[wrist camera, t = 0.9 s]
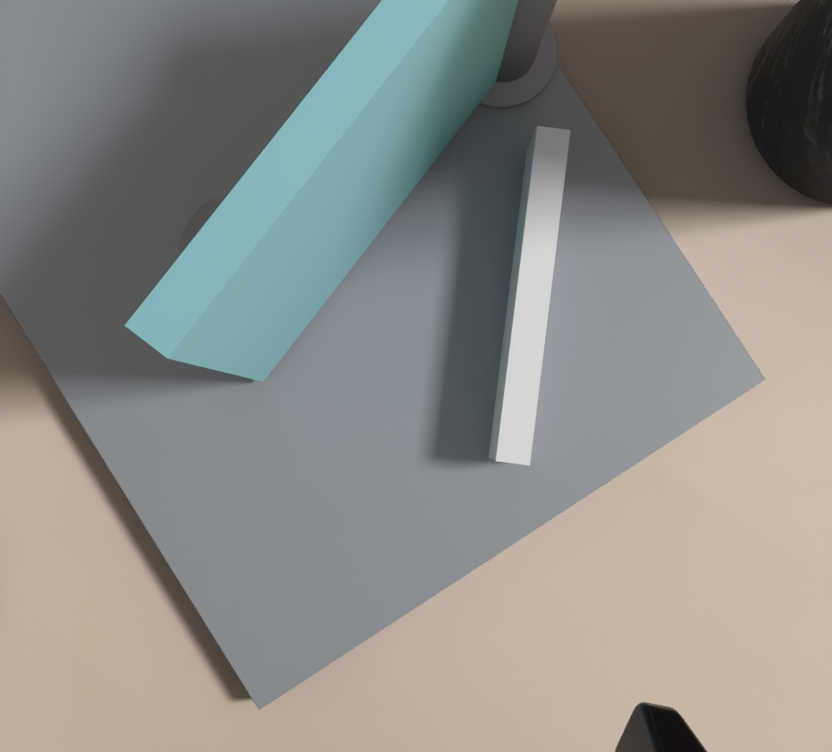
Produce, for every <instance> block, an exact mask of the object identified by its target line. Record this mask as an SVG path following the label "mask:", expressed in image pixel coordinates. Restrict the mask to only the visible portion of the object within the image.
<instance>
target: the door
mask: <svg viewBox="0 0 832 752" xmlns="http://www.w3.org/2000/svg"><path fill="white" fill-rule="evenodd" d="M556 1H557V0H382V1H381V2H380V3H379V5H378V6H377V7H376V8H375V10H374V11H373V12H372V13H371V15H370V16H369V17H368V18H367V20H366V21H365V22H364V23H363V25H362V26H361V27H360V29H359V30H358V31H357V32H356V34H355V35H354V36H353V37H352V39H351V40H350V41H349V42H348V44H347V45H346V46H345V48H344V49H343V50H342V51H341V53H340V54H339V55H338V56H337V58H336V59H335V60H334V61H333V63H332V64H331V65H330V66H329V68H328V69H327V70H326V72H325V73H324V74H323V75H322V77H321V78H320V79H319V80H318V82H317V83H316V84H315V85H314V87H313V88H312V89H311V90H310V92H309V93H308V94H307V96H306V97H305V98H304V99H303V101H302V102H301V103H300V104H299V106H298V107H297V108H296V109H295V111H294V112H293V113H292V114H291V116H290V117H289V118H288V120H287V121H286V122H285V123H284V125H283V126H282V127H281V128H280V130H279V131H278V132H277V133H276V135H275V136H274V137H273V139H272V140H271V141H270V142H269V144H268V145H267V146H266V147H265V149H264V150H263V151H262V152H261V154H260V155H259V156H258V157H257V159H256V160H255V161H254V163H253V164H252V165H251V166H250V168H249V169H248V170H247V171H246V173H245V174H244V175H243V176H242V178H241V179H240V180H239V181H238V183H237V184H236V185H235V187H234V188H233V189H232V190H231V192H230V193H229V194H228V195H227V197H226V198H225V199H224V200H222V199H221V198H219V197H216V198H213V199H211V200H209V201H208V202H206V203H205V204H204V205H202V206H201V207H200V208H199V209H198V210H197V211H196V212H195V214H194V215H193V216H192V217H191V219H190V220H189V221H188V223H187V224H186V226H185V228H184V230H183V231H182V234H181V236H180V239H179V243H178V247H179V250H180V251H181V252H182V254H181V255H180V256H179V257H178V259H177V260H176V261H175V262H174V264H173V265H172V266H171V267H170V269H169V270H168V271H167V273H166V274H165V275H164V276H163V278H162V279H161V280H160V281H159V283H158V284H157V285H156V286H155V288H154V289H153V290H152V291H151V293H150V294H149V295H148V297H147V298H146V299H145V300H144V302H143V303H142V304H141V305H140V307H139V308H138V309H137V310H136V312H135V313H134V314H133V315H132V317H131V318H130V319H129V321H128V322H127V323H126V324H125V326H126V327H127V328H128V329H130V330H131V331H132V332H133V333H135V334H136V335H137V336H139V337H140V338H141V339H143V340H144V341H145V342H147V343H148V344H149V345H150V346H152V347H153V348H154V349H156V350H157V351H158V352H160V353H161V354H162V355H163V356H165V357H166V358H168V359H172V360H176V361H180V362H184V363H188V364H192V365H196V366H201V367H205V368H209V369H213V370H217V371H221V372H225V373H229V374H233V375H238V376H242V377H246V378H250V379H254V380H258V381H262V382H263V381H264V380H265V379H266V378H267V376H268V375H269V374H270V372H271V371H272V370H273V369H274V367H275V366H276V365H277V363H278V362H279V361H280V360H281V358H282V357H283V356H284V354H285V353H286V352H287V351H288V349H289V348H290V347H291V345H292V344H293V343H294V342H295V340H296V339H297V338H298V336H299V335H300V334H301V332H302V331H303V330H304V329H305V327H306V326H307V325H308V323H309V322H310V321H311V320H312V318H313V317H314V316H315V314H316V313H317V312H318V311H319V309H320V308H321V307H322V305H323V304H324V303H325V302H326V300H327V299H328V298H329V296H330V295H331V294H332V293H333V291H334V290H335V289H336V287H337V286H338V285H339V284H340V282H341V281H342V280H343V278H344V277H345V276H346V275H347V273H348V272H349V271H350V269H351V268H352V267H353V266H354V264H355V263H356V262H357V260H358V259H359V258H360V257H361V255H362V254H363V253H364V251H365V250H366V249H367V248H368V246H369V245H370V244H371V242H372V241H373V240H374V239H375V237H376V236H377V235H378V233H379V232H380V231H381V230H382V228H383V227H384V226H385V224H386V223H387V222H388V220H389V219H390V218H391V217H392V215H393V214H394V213H395V211H396V210H397V209H398V208H399V206H400V205H401V204H402V202H403V201H404V200H405V199H406V197H407V196H408V195H409V193H410V192H411V191H412V190H413V188H414V187H415V186H416V184H417V183H418V182H419V181H420V179H421V178H422V177H423V175H424V174H425V173H426V172H427V170H428V169H429V168H430V166H431V165H432V164H433V163H434V161H435V160H436V159H437V157H438V156H439V155H440V154H441V152H442V151H443V150H444V148H445V147H446V146H447V145H448V143H449V142H450V141H451V139H452V138H453V137H454V136H455V134H456V133H457V132H458V130H459V129H460V128H461V127H462V125H463V124H464V123H465V121H466V120H467V119H468V117H469V116H470V115H471V114H472V112H473V111H474V110H475V108H476V107H477V106H478V105H479V103H480V102H481V101H482V99H483V98H484V97H485V96H486V94H487V93H488V92H489V90H490V89H491V88H492V87H493V85H494V84H495V83H496V82H511V81H514V80H517V79H519V78H520V77H522V76H523V75H525V74H526V73H527V72H528V71H529V70H530V68H531V67H532V65H533V63H534V61H535V58H536V55H537V52H538V50H539V47H540V44H541V42H542V39H543V36H544V33H545V31H546V28H547V25H548V22H549V20H550V17H551V14H552V12H553V9H554V6H555V3H556Z"/></svg>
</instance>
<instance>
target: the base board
mask: <svg viewBox="0 0 832 752" xmlns="http://www.w3.org/2000/svg"><path fill="white" fill-rule="evenodd" d="M381 1H382V0H0V294H1V296H2V298H3V299H4V301H5V302H6V304H7V306H8V307H9V309H10V310H11V312H12V314H13V315H14V317H15V318H16V320H17V322H18V323H19V325H20V326H21V328H22V330H23V331H24V333H25V334H26V336H27V338H28V339H29V341H30V343H31V344H32V346H33V347H34V349H35V351H36V352H37V354H38V355H39V357H40V359H41V360H42V362H43V363H44V365H45V367H46V368H47V370H48V371H49V373H50V375H51V376H52V378H53V380H54V381H55V383H56V384H57V386H58V388H59V389H60V391H61V392H62V394H63V396H64V397H65V399H66V400H67V402H68V404H69V405H70V407H71V408H72V410H73V412H74V413H75V415H76V416H77V418H78V420H79V421H80V423H81V425H82V426H83V428H84V429H85V431H86V433H87V434H88V436H89V437H90V439H91V441H92V442H93V444H94V445H95V447H96V449H97V450H98V452H99V453H100V455H101V457H102V458H103V460H104V462H105V463H106V465H107V466H108V468H109V470H110V471H111V473H112V474H113V476H114V478H115V479H116V481H117V482H118V484H119V486H120V487H121V489H122V490H123V492H124V494H125V495H126V497H127V499H128V500H129V502H130V503H131V505H132V507H133V508H134V510H135V511H136V513H137V515H138V516H139V518H140V519H141V521H142V523H143V524H144V526H145V527H146V529H147V531H148V532H149V534H150V535H151V537H152V539H153V540H154V542H155V544H156V545H157V547H158V548H159V550H160V552H161V553H162V555H163V556H164V558H165V560H166V561H167V563H168V564H169V566H170V568H171V569H172V571H173V572H174V574H175V576H176V577H177V579H178V581H179V582H180V584H181V585H182V587H183V589H184V590H185V592H186V593H187V595H188V597H189V598H190V600H191V601H192V603H193V605H194V606H195V608H196V609H197V611H198V613H199V614H200V616H201V618H202V619H203V621H204V622H205V624H206V626H207V627H208V629H209V630H210V632H211V634H212V635H213V637H214V638H215V640H216V642H217V643H218V645H219V646H220V648H221V650H222V651H223V653H224V654H225V656H226V658H227V659H228V661H229V663H230V664H231V666H232V667H233V669H234V671H235V672H236V674H237V675H238V677H239V679H240V680H241V682H242V683H243V685H244V687H245V688H246V690H247V691H248V693H249V695H250V696H251V698H252V700H253V701H254V703H255V704H256V706H257V708H258V709H259V710H260V709H261V708H263V707H264V706H266V705H267V704H269V703H270V702H272V701H273V700H275V699H276V698H278V697H280V696H281V695H283V694H284V693H286V692H287V691H289V690H290V689H292V688H293V687H295V686H296V685H298V684H299V683H301V682H303V681H304V680H306V679H307V678H309V677H310V676H312V675H313V674H315V673H316V672H318V671H319V670H321V669H322V668H324V667H326V666H327V665H329V664H330V663H332V662H333V661H335V660H336V659H338V658H339V657H341V656H342V655H344V654H345V653H347V652H349V651H350V650H352V649H353V648H355V647H356V646H358V645H359V644H361V643H362V642H364V641H365V640H367V639H368V638H370V637H371V636H373V635H375V634H376V633H378V632H379V631H381V630H382V629H384V628H385V627H387V626H388V625H390V624H391V623H393V622H394V621H396V620H398V619H399V618H401V617H402V616H404V615H405V614H407V613H408V612H410V611H411V610H413V609H414V608H416V607H417V606H419V605H421V604H422V603H424V602H425V601H427V600H428V599H430V598H431V597H433V596H434V595H436V594H437V593H439V592H440V591H442V590H444V589H445V588H447V587H448V586H450V585H451V584H453V583H454V582H456V581H457V580H459V579H460V578H462V577H463V576H465V575H467V574H468V573H470V572H471V571H473V570H474V569H476V568H477V567H479V566H480V565H482V564H483V563H485V562H486V561H488V560H489V559H491V558H493V557H494V556H496V555H497V554H499V553H500V552H502V551H503V550H505V549H506V548H508V547H509V546H511V545H512V544H514V543H516V542H517V541H519V540H520V539H522V538H523V537H525V536H526V535H528V534H529V533H531V532H532V531H534V530H535V529H537V528H539V527H540V526H542V525H543V524H545V523H546V522H548V521H549V520H551V519H552V518H554V517H555V516H557V515H558V514H560V513H562V512H563V511H565V510H566V509H568V508H569V507H571V506H572V505H574V504H575V503H577V502H578V501H580V500H581V499H583V498H585V497H586V496H588V495H589V494H591V493H592V492H594V491H595V490H597V489H598V488H600V487H601V486H603V485H604V484H606V483H607V482H609V481H611V480H612V479H614V478H615V477H617V476H618V475H620V474H621V473H623V472H624V471H626V470H627V469H629V468H630V467H632V466H634V465H635V464H637V463H638V462H640V461H641V460H643V459H644V458H646V457H647V456H649V455H650V454H652V453H653V452H655V451H657V450H658V449H660V448H661V447H663V446H664V445H666V444H667V443H669V442H670V441H672V440H673V439H675V438H676V437H678V436H680V435H681V434H683V433H684V432H686V431H687V430H689V429H690V428H692V427H693V426H695V425H696V424H698V423H699V422H701V421H703V420H704V419H706V418H707V417H709V416H710V415H712V414H713V413H715V412H716V411H718V410H719V409H721V408H722V407H724V406H726V405H727V404H729V403H730V402H732V401H733V400H735V399H736V398H738V397H739V396H741V395H742V394H744V393H745V392H747V391H748V390H750V389H752V388H753V387H755V386H756V385H758V384H759V383H761V382H762V381H764V380H765V378H764V376H763V375H762V373H761V372H760V370H759V369H758V367H757V366H756V364H755V363H754V361H753V360H752V358H751V356H750V355H749V353H748V352H747V350H746V349H745V347H744V346H743V344H742V343H741V341H740V340H739V338H738V337H737V335H736V334H735V332H734V331H733V329H732V328H731V326H730V325H729V323H728V322H727V320H726V319H725V317H724V315H723V314H722V312H721V311H720V309H719V308H718V306H717V305H716V303H715V302H714V300H713V299H712V297H711V296H710V294H709V293H708V291H707V290H706V288H705V287H704V285H703V284H702V282H701V281H700V279H699V278H698V276H697V274H696V273H695V271H694V270H693V268H692V267H691V265H690V264H689V262H688V261H687V259H686V258H685V256H684V255H683V253H682V252H681V250H680V249H679V247H678V246H677V244H676V243H675V241H674V240H673V238H672V237H671V235H670V233H669V232H668V230H667V229H666V227H665V226H664V224H663V223H662V221H661V220H660V218H659V217H658V215H657V214H656V212H655V211H654V209H653V208H652V206H651V205H650V203H649V202H648V200H647V199H646V197H645V196H644V194H643V192H642V191H641V189H640V188H639V186H638V185H637V183H636V182H635V180H634V179H633V177H632V176H631V174H630V173H629V171H628V170H627V168H626V167H625V165H624V164H623V162H622V161H621V159H620V158H619V156H618V155H617V153H616V151H615V150H614V148H613V147H612V145H611V144H610V142H609V141H608V139H607V138H606V136H605V135H604V133H603V132H602V130H601V129H600V127H599V126H598V124H597V123H596V121H595V120H594V118H593V117H592V115H591V114H590V112H589V110H588V109H587V107H586V106H585V104H584V103H583V101H582V100H581V98H580V97H579V95H578V94H577V92H576V91H575V89H574V88H573V86H572V85H571V83H570V82H569V80H568V79H567V77H566V76H565V74H564V73H563V71H562V69H561V68H560V66H559V65H558V63H557V56H558V46H557V39H556V36H555V33H554V30H553V28H552V26H551V24H550V22H548V25H547V28H546V31H545V33H544V36H543V39H542V42H541V44H540V47H539V50H538V52H537V55H536V58H535V61H534V63H533V65H532V67H531V68H530V70H529V71H528V72H527V73H526V74H525V75H523V76H522V77H520V78H519V79H517V80H514V81H511V82H496V83H495V84H494V85H493V87H492V88H491V89H490V90H489V92H488V93H487V94H486V96H485V97H484V98H483V99H482V101H481V102H480V103H479V105H478V106H477V107H476V108H475V110H474V111H473V112H472V114H471V115H470V116H469V117H468V119H467V120H466V121H465V123H464V124H463V125H462V127H461V128H460V129H459V130H458V132H457V133H456V134H455V136H454V137H453V138H452V139H451V141H450V142H449V143H448V145H447V146H446V147H445V148H444V150H443V151H442V152H441V154H440V155H439V156H438V157H437V159H436V160H435V161H434V163H433V164H432V165H431V166H430V168H429V169H428V170H427V172H426V173H425V174H424V175H423V177H422V178H421V179H420V181H419V182H418V183H417V184H416V186H415V187H414V188H413V190H412V191H411V192H410V193H409V195H408V196H407V197H406V199H405V200H404V201H403V202H402V204H401V205H400V206H399V208H398V209H397V210H396V211H395V213H394V214H393V215H392V217H391V218H390V219H389V220H388V222H387V223H386V224H385V226H384V227H383V228H382V230H381V231H380V232H379V233H378V235H377V236H376V237H375V239H374V240H373V241H372V242H371V244H370V245H369V246H368V248H367V249H366V250H365V251H364V253H363V254H362V255H361V257H360V258H359V259H358V260H357V262H356V263H355V264H354V266H353V267H352V268H351V269H350V271H349V272H348V273H347V275H346V276H345V277H344V278H343V280H342V281H341V282H340V284H339V285H338V286H337V287H336V289H335V290H334V291H333V293H332V294H331V295H330V296H329V298H328V299H327V300H326V302H325V303H324V304H323V305H322V307H321V308H320V309H319V311H318V312H317V313H316V314H315V316H314V317H313V318H312V320H311V321H310V322H309V323H308V325H307V326H306V327H305V329H304V330H303V331H302V332H301V334H300V335H299V336H298V338H297V339H296V340H295V342H294V343H293V344H292V345H291V347H290V348H289V349H288V351H287V352H286V353H285V354H284V356H283V357H282V358H281V360H280V361H279V362H278V363H277V365H276V366H275V367H274V369H273V370H272V371H271V372H270V374H269V375H268V376H267V378H266V379H265V380H264V381H263V382H262V381H258V380H254V379H250V378H246V377H242V376H238V375H233V374H229V373H225V372H221V371H217V370H213V369H209V368H205V367H201V366H196V365H192V364H188V363H184V362H180V361H176V360H172V359H168V358H166V357H165V356H163V355H162V354H161V353H160V352H158V351H157V350H156V349H154V348H153V347H152V346H150V345H149V344H148V343H147V342H145V341H144V340H143V339H141V338H140V337H139V336H137V335H136V334H135V333H133V332H132V331H131V330H130V329H128V328H127V327H126V326H125V324H126V323H127V322H128V321H129V319H130V318H131V317H132V315H133V314H134V313H135V312H136V310H137V309H138V308H139V307H140V305H141V304H142V303H143V302H144V300H145V299H146V298H147V297H148V295H149V294H150V293H151V291H152V290H153V289H154V288H155V286H156V285H157V284H158V283H159V281H160V280H161V279H162V278H163V276H164V275H165V274H166V273H167V271H168V270H169V269H170V267H171V266H172V265H173V264H174V262H175V261H176V260H177V259H178V257H179V256H180V255H181V254H182V252H181V251H180V250H179V247H178V243H179V239H180V236H181V234H182V231H183V230H184V228H185V226H186V224H187V223H188V221H189V220H190V219H191V217H192V216H193V215H194V214H195V212H196V211H197V210H198V209H199V208H200V207H201V206H202V205H204V204H205V203H206V202H208V201H209V200H211V199H213V198H216V197H219V198H221V199H222V200H224V199H225V198H226V197H227V195H228V194H229V193H230V192H231V190H232V189H233V188H234V187H235V185H236V184H237V183H238V181H239V180H240V179H241V178H242V176H243V175H244V174H245V173H246V171H247V170H248V169H249V168H250V166H251V165H252V164H253V163H254V161H255V160H256V159H257V157H258V156H259V155H260V154H261V152H262V151H263V150H264V149H265V147H266V146H267V145H268V144H269V142H270V141H271V140H272V139H273V137H274V136H275V135H276V133H277V132H278V131H279V130H280V128H281V127H282V126H283V125H284V123H285V122H286V121H287V120H288V118H289V117H290V116H291V114H292V113H293V112H294V111H295V109H296V108H297V107H298V106H299V104H300V103H301V102H302V101H303V99H304V98H305V97H306V96H307V94H308V93H309V92H310V90H311V89H312V88H313V87H314V85H315V84H316V83H317V82H318V80H319V79H320V78H321V77H322V75H323V74H324V73H325V72H326V70H327V69H328V68H329V66H330V65H331V64H332V63H333V61H334V60H335V59H336V58H337V56H338V55H339V54H340V53H341V51H342V50H343V49H344V48H345V46H346V45H347V44H348V42H349V41H350V40H351V39H352V37H353V36H354V35H355V34H356V32H357V31H358V30H359V29H360V27H361V26H362V25H363V23H364V22H365V21H366V20H367V18H368V17H369V16H370V15H371V13H372V12H373V11H374V10H375V8H376V7H377V6H378V5H379V3H380V2H381Z"/></svg>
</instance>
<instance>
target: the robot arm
mask: <svg viewBox="0 0 832 752" xmlns="http://www.w3.org/2000/svg"><path fill="white" fill-rule="evenodd" d="M615 752H707V751H706V749H705V748H704V747H703V745H702V744H701V742H700V741H699V740H698V738H697V737H696V736H695V734H694V733H693V731H692V730H691V729H690V727H689V726H688V724H687V723H686V722H685V720H684V719H683V718H682V716H681V715H680V714H679V713H678V712H677V711H676V710H675V709H673V708H671V707H666V706H661V705H656V704H651V703H646V702H643V703H640V704H638V705H637V706H636V707H635V709H634V710H633V713H632V715H631V717H630V719H629V721H628V723H627V725H626V728H625V730H624V732H623V734H622V736H621V738H620V740H619V742H618V745H617V747H616V751H615Z"/></svg>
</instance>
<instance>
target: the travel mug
mask: <svg viewBox="0 0 832 752" xmlns="http://www.w3.org/2000/svg"><path fill="white" fill-rule="evenodd" d="M747 115H748V121H749V125H750V129H751V132H752V135H753V138H754V140H755V143H756V145H757V147H758V149H759V151H760V153H761V154H762V156H763V157H764V159H765V160H766V162H767V163H768V164H769V166H770V167H771V168H772V169H773V170H774V171H775V172H776V174H777V175H778V176H779V177H780V178H782V179H783V180H784V181H785V182H786V183H788V184H789V185H790V186H792V187H793V188H795V189H796V190H798V191H799V192H801V193H803V194H805V195H807V196H810V197H812V198H814V199H817V200H820V201H823V202H826V203H831V204H832V0H800V1H799V2H798V3H797V4H796V5H795V6H794V7H793V9H792V10H791V11H790V12H789V13H788V14H787V16H786V17H785V18H784V19H783V20H782V22H781V23H780V24H779V25H778V26H777V27H776V29H775V30H774V31H773V32H772V33H771V35H770V36H769V37H768V39H767V40H766V42H765V43H764V45H763V46H762V48H761V50H760V51H759V53H758V55H757V58H756V60H755V62H754V64H753V67H752V71H751V74H750V77H749V82H748V88H747Z"/></svg>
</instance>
